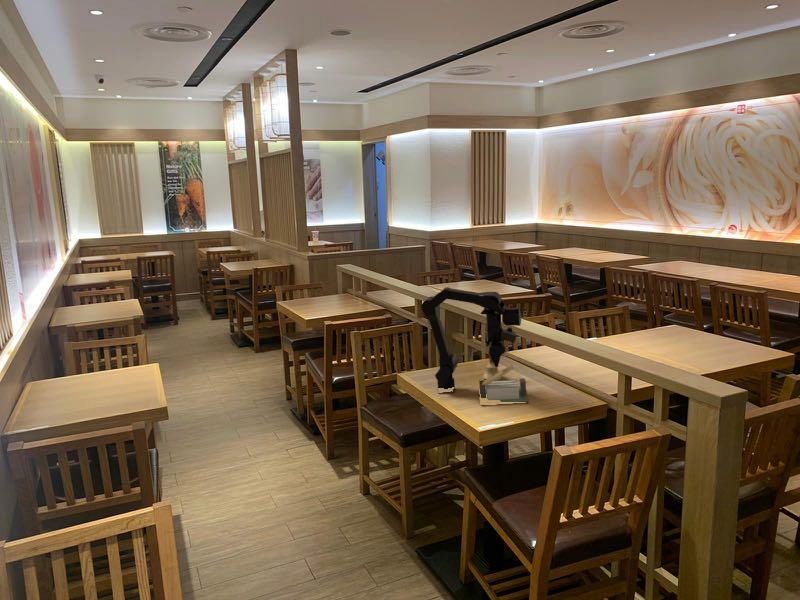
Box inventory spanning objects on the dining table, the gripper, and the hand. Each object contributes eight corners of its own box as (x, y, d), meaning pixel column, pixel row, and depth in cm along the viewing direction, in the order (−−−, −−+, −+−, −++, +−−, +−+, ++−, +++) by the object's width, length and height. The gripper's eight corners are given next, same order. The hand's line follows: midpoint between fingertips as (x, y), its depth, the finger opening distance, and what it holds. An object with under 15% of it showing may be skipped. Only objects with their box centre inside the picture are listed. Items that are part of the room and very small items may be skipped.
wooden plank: (483, 387, 231) (482, 385, 231) (482, 384, 234) (481, 382, 234) (513, 368, 228) (512, 367, 228) (513, 365, 231) (511, 364, 231)
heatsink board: (480, 406, 227) (479, 390, 225) (478, 391, 240) (477, 376, 239) (528, 403, 225) (527, 387, 224) (523, 388, 239) (522, 373, 237)
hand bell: (491, 382, 248) (489, 346, 244) (478, 377, 255) (476, 342, 251) (506, 377, 252) (504, 341, 248) (493, 372, 259) (491, 337, 255)
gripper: (518, 330, 221) (519, 370, 225) (511, 316, 239) (512, 353, 243) (488, 332, 222) (489, 371, 225) (483, 318, 240) (485, 354, 243)
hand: (495, 362), depth 234 cm, fingers open, 9 cm apart
